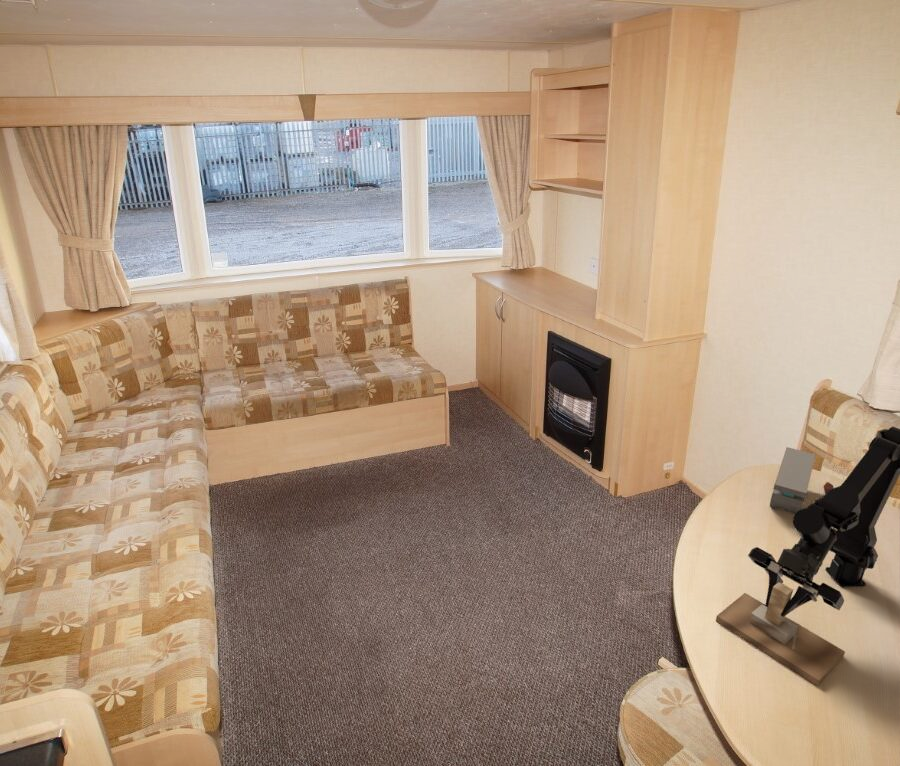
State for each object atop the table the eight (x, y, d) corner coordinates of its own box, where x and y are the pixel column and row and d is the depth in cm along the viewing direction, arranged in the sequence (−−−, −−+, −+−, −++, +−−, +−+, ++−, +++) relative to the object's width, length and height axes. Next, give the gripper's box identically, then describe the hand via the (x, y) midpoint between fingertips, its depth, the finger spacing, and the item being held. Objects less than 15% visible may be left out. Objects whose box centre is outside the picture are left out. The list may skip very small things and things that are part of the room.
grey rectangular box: (796, 527, 176) (806, 493, 172) (765, 517, 180) (774, 484, 176) (806, 485, 196) (815, 454, 191) (778, 477, 200) (786, 447, 195)
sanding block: (748, 621, 141) (759, 581, 137) (759, 612, 144) (770, 573, 140) (784, 644, 136) (796, 603, 131) (795, 634, 138) (807, 594, 134)
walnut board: (715, 620, 144) (716, 615, 143) (743, 597, 150) (744, 592, 150) (817, 686, 128) (819, 680, 127) (843, 656, 135) (845, 651, 134)
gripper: (761, 515, 140) (723, 576, 138) (853, 561, 126) (812, 629, 125) (772, 532, 147) (736, 590, 146) (859, 577, 134) (821, 641, 132)
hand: (774, 611), depth 137 cm, fingers closed on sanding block, 3 cm apart
